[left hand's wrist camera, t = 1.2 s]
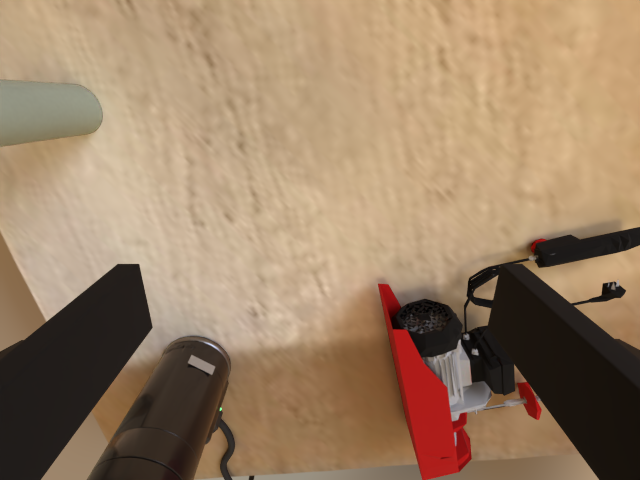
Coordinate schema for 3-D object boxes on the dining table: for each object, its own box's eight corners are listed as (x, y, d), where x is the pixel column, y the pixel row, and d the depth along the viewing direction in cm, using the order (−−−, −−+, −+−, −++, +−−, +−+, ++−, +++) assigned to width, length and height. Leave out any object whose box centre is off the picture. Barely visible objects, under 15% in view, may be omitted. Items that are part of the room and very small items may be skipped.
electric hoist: (716, 258, 32) (391, 325, 34) (668, 445, 43) (423, 485, 45) (626, 218, 41) (375, 273, 44) (605, 380, 52) (405, 417, 54)
